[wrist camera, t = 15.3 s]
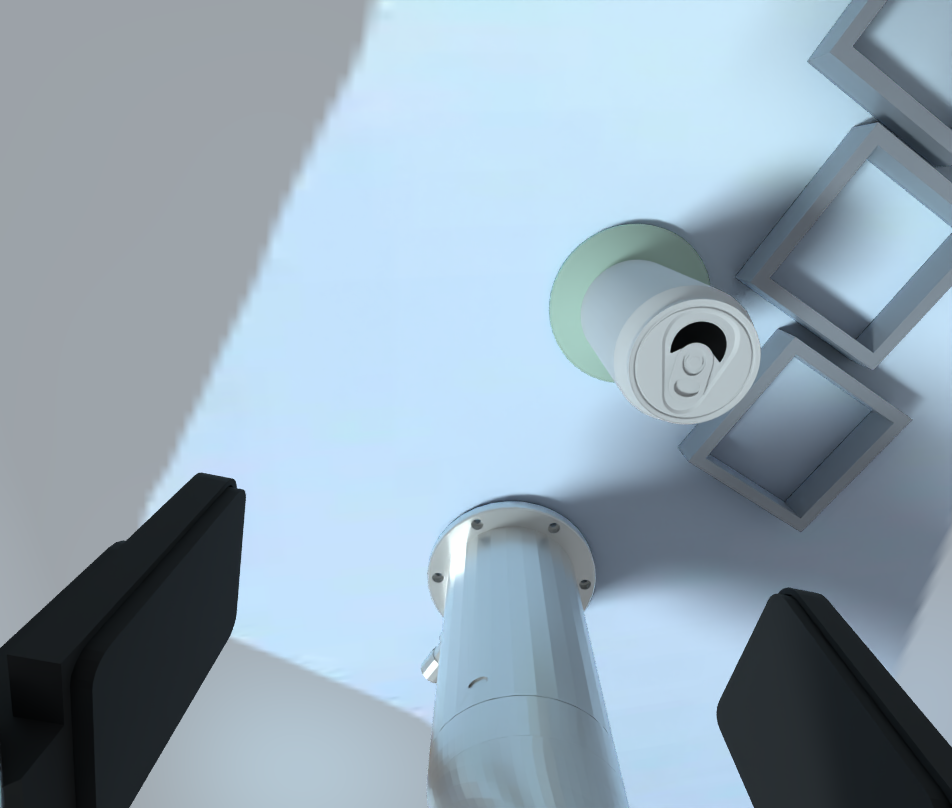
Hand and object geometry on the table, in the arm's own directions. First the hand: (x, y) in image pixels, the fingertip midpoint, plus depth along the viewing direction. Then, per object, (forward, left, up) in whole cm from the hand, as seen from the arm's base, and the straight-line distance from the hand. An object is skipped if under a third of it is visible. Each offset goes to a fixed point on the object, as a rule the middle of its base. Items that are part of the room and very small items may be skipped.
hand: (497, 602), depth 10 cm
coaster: (+5, -7, -28) cm, 29 cm away
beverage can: (+5, -7, -28) cm, 29 cm away
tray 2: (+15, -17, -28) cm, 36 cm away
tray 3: (+4, -21, -28) cm, 35 cm away
